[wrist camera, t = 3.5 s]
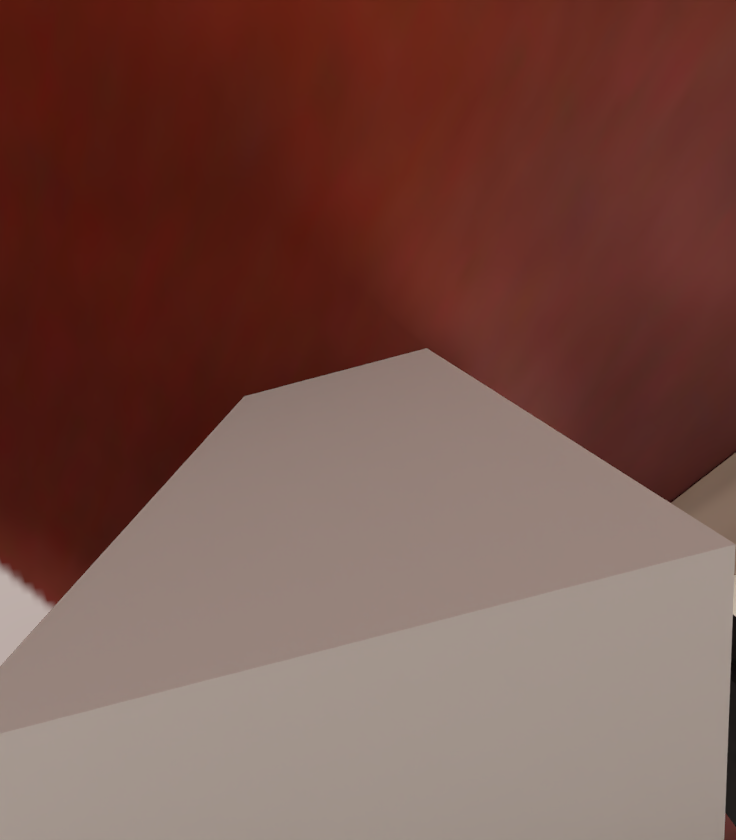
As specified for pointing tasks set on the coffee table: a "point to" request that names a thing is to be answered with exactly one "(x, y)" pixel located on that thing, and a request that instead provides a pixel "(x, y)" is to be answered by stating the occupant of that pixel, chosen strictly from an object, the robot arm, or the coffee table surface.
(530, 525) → the white block
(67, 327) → the coffee table surface
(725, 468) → the ledge
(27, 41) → the coffee table surface
